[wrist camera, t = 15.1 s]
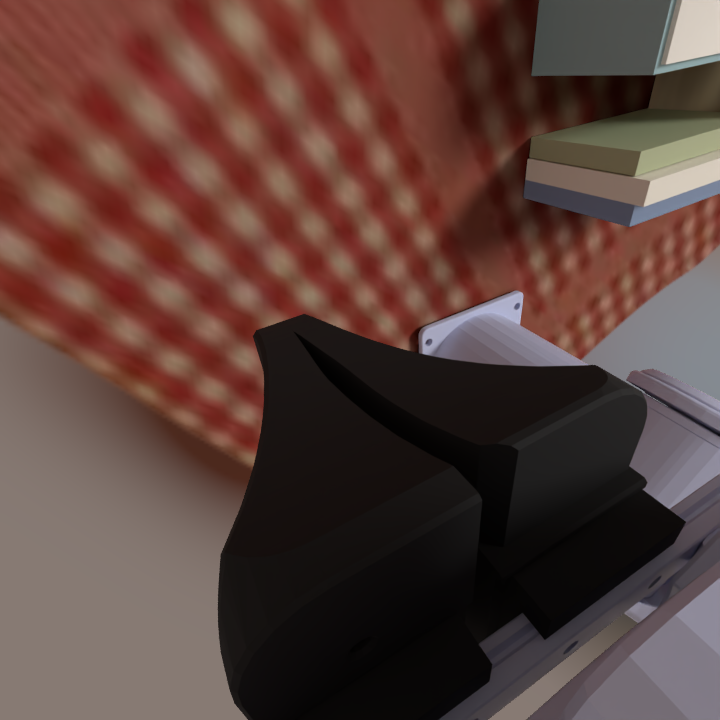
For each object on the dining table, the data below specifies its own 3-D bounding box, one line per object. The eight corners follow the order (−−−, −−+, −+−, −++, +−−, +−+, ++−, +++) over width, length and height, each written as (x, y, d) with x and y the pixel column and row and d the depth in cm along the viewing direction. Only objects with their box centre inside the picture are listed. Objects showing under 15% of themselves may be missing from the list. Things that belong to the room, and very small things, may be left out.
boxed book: (639, 54, 24) (777, 48, 19) (530, 75, 21) (658, 74, 17) (663, -54, 21) (830, -93, 17) (542, -45, 19) (698, -87, 14)
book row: (633, 164, 28) (757, 183, 23) (523, 197, 25) (637, 229, 20) (646, 108, 26) (785, 115, 21) (529, 137, 23) (657, 154, 18)
